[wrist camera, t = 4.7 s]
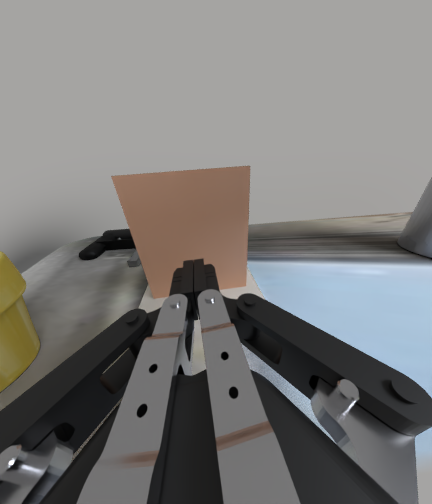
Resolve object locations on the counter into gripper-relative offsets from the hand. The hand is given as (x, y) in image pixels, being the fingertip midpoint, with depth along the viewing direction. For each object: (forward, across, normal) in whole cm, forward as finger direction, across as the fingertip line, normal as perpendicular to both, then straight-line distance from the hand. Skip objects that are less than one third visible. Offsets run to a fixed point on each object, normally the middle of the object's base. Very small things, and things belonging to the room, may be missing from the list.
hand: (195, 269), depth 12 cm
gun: (+24, +14, +9) cm, 29 cm away
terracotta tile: (+7, 0, +7) cm, 10 cm away
